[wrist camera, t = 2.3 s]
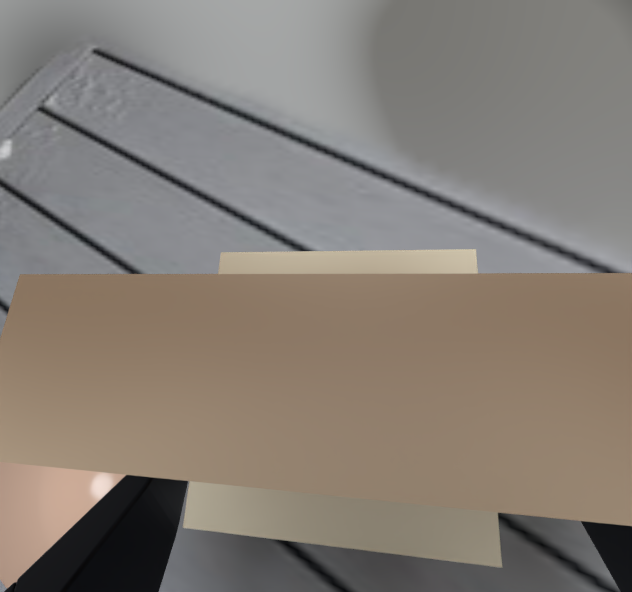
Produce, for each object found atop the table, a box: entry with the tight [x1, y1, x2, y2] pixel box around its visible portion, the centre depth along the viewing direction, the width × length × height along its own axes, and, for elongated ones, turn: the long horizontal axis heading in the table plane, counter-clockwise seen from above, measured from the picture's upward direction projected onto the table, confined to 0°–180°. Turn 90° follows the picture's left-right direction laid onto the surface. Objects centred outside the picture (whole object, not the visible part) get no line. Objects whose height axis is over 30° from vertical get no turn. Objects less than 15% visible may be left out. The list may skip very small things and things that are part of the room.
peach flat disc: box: [0, 462, 126, 588], centre depth 18 cm, size 10×10×1 cm
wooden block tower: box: [0, 249, 632, 568], centre depth 11 cm, size 4×8×15 cm, turn 87°
